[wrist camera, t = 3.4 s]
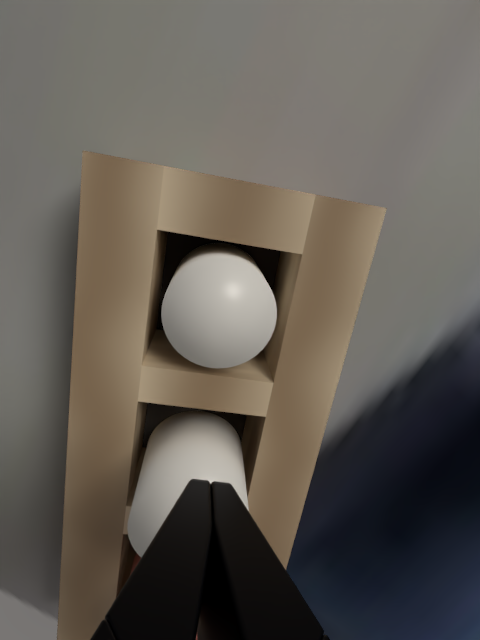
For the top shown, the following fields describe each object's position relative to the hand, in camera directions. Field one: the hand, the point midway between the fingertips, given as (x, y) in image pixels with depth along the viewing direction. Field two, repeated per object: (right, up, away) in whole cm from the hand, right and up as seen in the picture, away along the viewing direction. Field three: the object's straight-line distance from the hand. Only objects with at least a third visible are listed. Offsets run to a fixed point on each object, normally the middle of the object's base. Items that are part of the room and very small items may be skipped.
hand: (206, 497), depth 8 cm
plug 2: (-1, -2, +9) cm, 9 cm away
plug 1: (0, +5, +9) cm, 11 cm away
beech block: (-1, -1, +12) cm, 12 cm away
